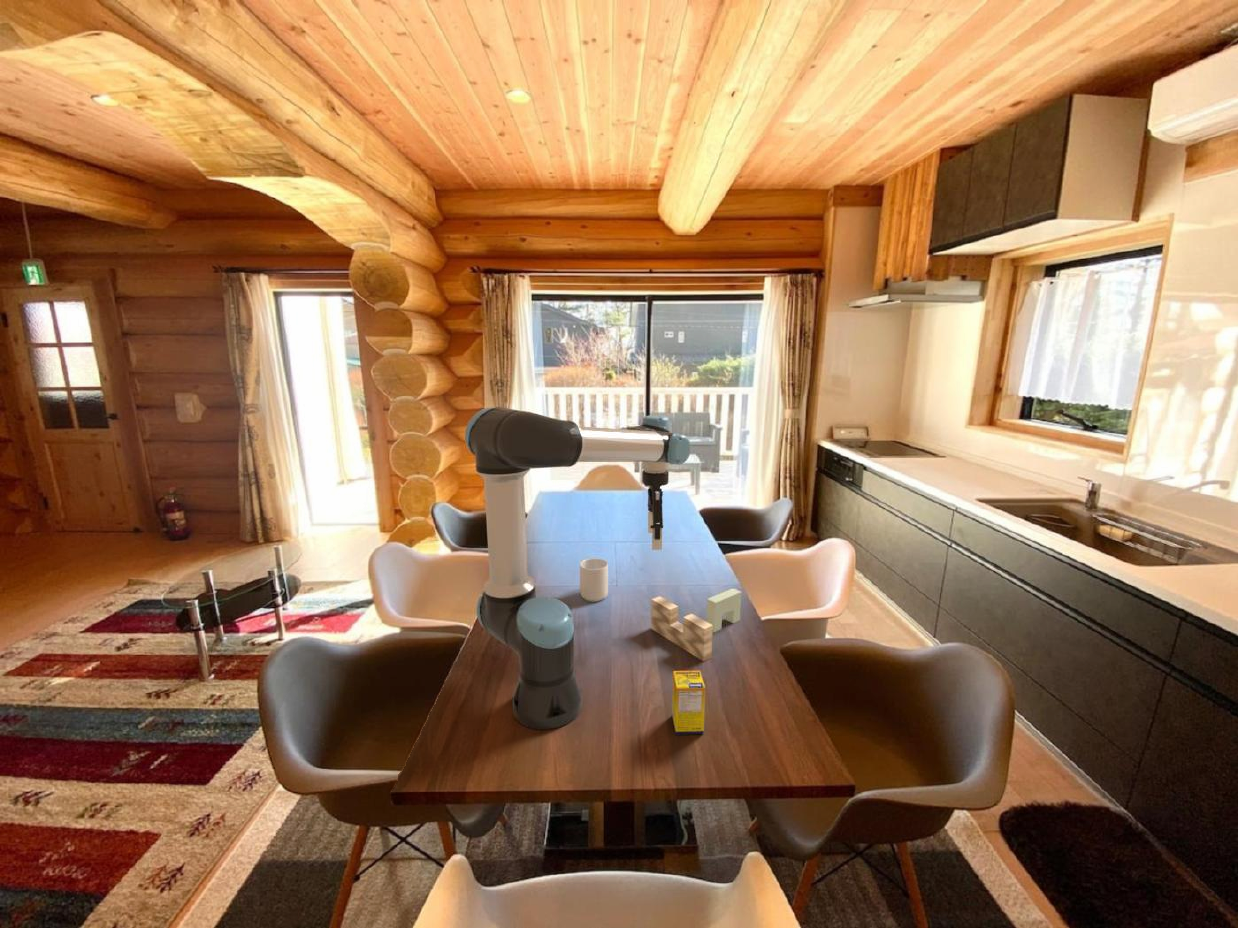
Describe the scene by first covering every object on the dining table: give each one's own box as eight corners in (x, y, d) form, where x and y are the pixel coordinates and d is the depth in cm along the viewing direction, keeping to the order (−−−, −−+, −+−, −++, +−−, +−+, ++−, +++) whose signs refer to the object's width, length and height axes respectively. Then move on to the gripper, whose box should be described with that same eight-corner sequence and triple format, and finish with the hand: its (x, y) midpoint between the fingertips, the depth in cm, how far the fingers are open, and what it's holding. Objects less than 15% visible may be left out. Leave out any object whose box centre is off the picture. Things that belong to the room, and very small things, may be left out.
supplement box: (698, 714, 112) (700, 669, 109) (704, 734, 106) (706, 687, 104) (671, 715, 111) (672, 669, 109) (675, 735, 106) (676, 687, 103)
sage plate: (714, 632, 144) (715, 602, 142) (706, 627, 147) (707, 598, 145) (739, 620, 151) (741, 591, 149) (731, 616, 153) (733, 588, 151)
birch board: (711, 657, 133) (712, 625, 131) (703, 661, 131) (704, 629, 129) (658, 625, 148) (659, 596, 146) (651, 628, 146) (651, 599, 144)
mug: (605, 603, 161) (605, 570, 158) (577, 601, 162) (577, 568, 159) (611, 586, 172) (611, 555, 170) (585, 585, 173) (584, 554, 171)
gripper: (674, 481, 135) (672, 556, 140) (663, 460, 159) (662, 526, 164) (645, 481, 135) (645, 557, 140) (639, 460, 159) (639, 526, 164)
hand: (654, 540), depth 152 cm, fingers open, 13 cm apart
